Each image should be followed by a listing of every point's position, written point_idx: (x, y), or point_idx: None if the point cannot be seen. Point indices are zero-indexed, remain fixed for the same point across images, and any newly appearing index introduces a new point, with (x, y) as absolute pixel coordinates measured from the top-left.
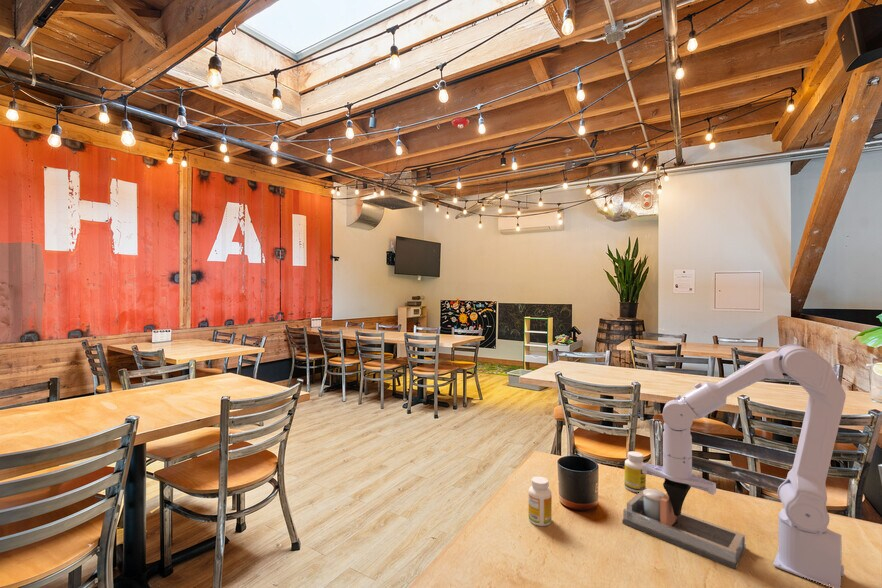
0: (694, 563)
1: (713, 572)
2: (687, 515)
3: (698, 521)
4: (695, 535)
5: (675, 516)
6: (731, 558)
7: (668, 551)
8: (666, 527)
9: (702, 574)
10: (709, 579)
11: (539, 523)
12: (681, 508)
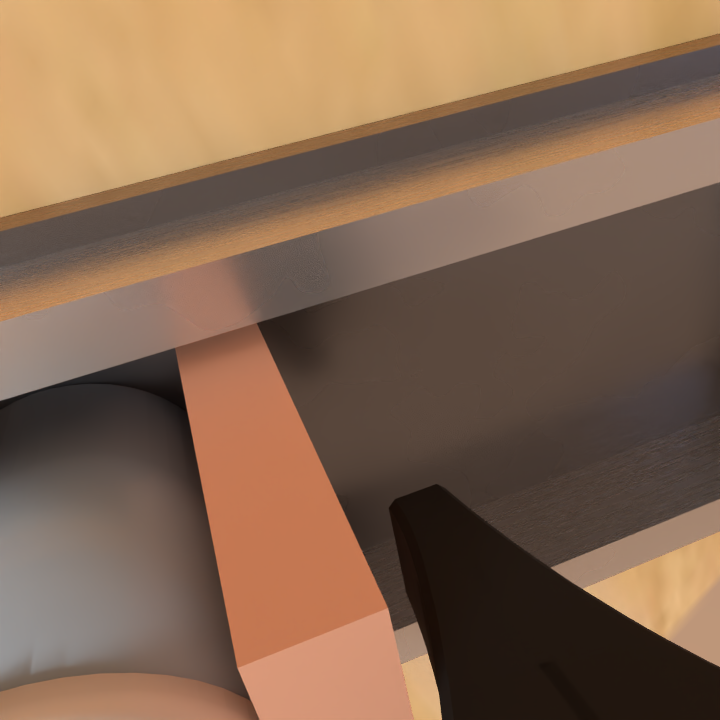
0: (586, 587)
1: (684, 553)
2: (404, 231)
3: (553, 226)
4: (623, 544)
5: (256, 323)
6: None
7: None
8: None
9: (644, 619)
10: (678, 617)
11: None
12: (484, 524)
